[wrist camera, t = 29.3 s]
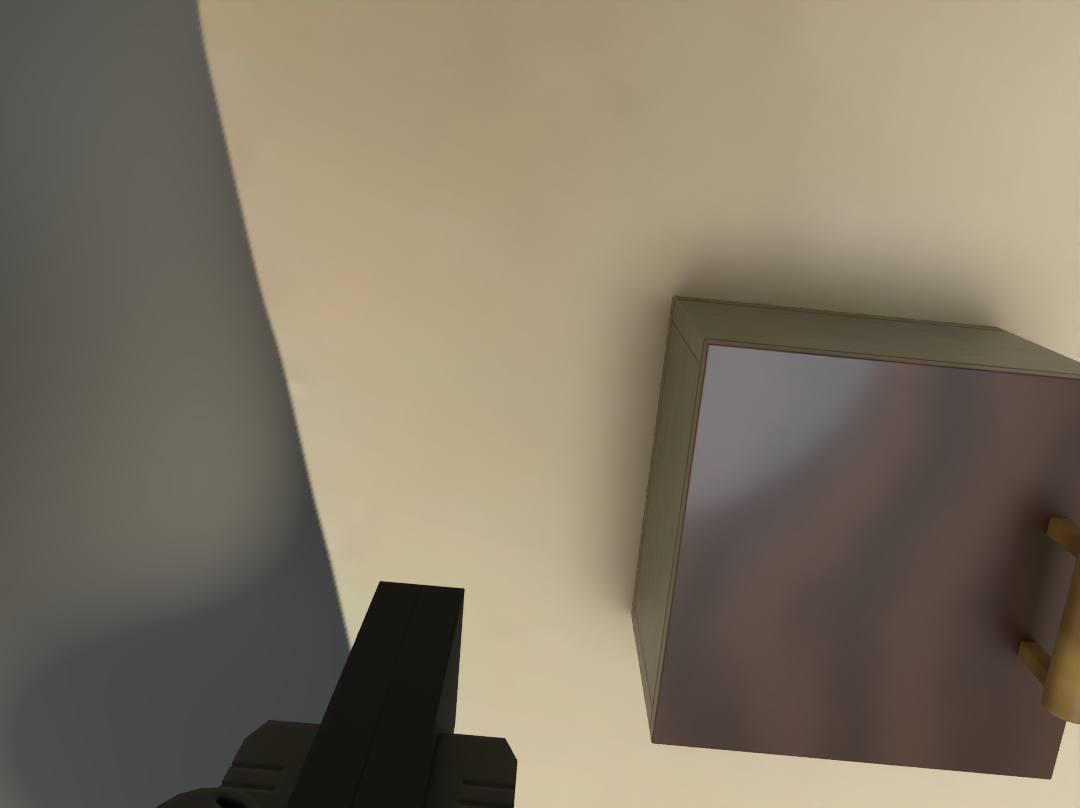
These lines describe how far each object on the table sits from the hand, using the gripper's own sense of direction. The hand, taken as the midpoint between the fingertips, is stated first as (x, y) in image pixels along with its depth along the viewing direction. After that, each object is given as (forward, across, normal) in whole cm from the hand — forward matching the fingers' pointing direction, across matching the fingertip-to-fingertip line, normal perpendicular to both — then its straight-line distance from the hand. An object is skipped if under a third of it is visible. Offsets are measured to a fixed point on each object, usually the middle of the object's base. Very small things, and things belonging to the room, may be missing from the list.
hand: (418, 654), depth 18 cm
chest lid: (+19, +15, -6) cm, 25 cm away
